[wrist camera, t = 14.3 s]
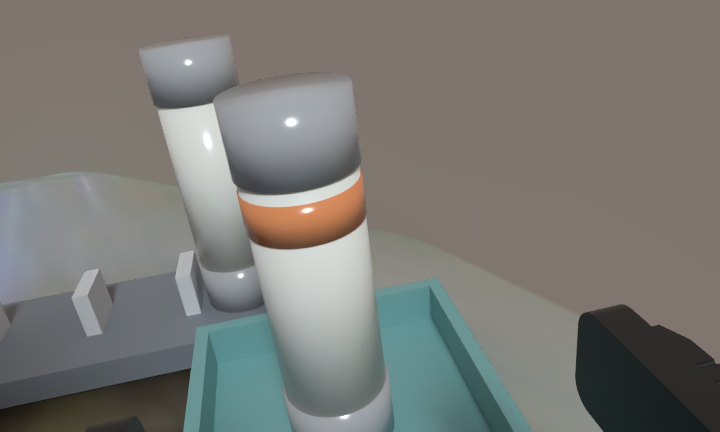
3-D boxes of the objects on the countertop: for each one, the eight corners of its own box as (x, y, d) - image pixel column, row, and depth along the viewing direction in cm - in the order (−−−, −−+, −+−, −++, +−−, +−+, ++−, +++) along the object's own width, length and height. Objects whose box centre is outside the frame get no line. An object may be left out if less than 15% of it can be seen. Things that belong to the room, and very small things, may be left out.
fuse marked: (298, 479, 21) (209, 118, 15) (289, 400, 24) (215, 85, 18) (406, 452, 21) (364, 92, 15) (381, 378, 25) (340, 66, 19)
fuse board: (-289, 471, 26) (-345, 408, 24) (-175, 361, 33) (-212, 307, 31) (317, 340, 30) (305, 277, 28) (302, 267, 37) (292, 213, 35)
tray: (190, 635, 17) (165, 577, 16) (210, 375, 28) (196, 327, 27) (555, 535, 19) (558, 474, 17) (440, 324, 30) (437, 277, 28)
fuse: (207, 319, 30) (130, 56, 24) (210, 279, 34) (145, 43, 28) (283, 303, 30) (228, 42, 24) (279, 266, 34) (230, 31, 28)
